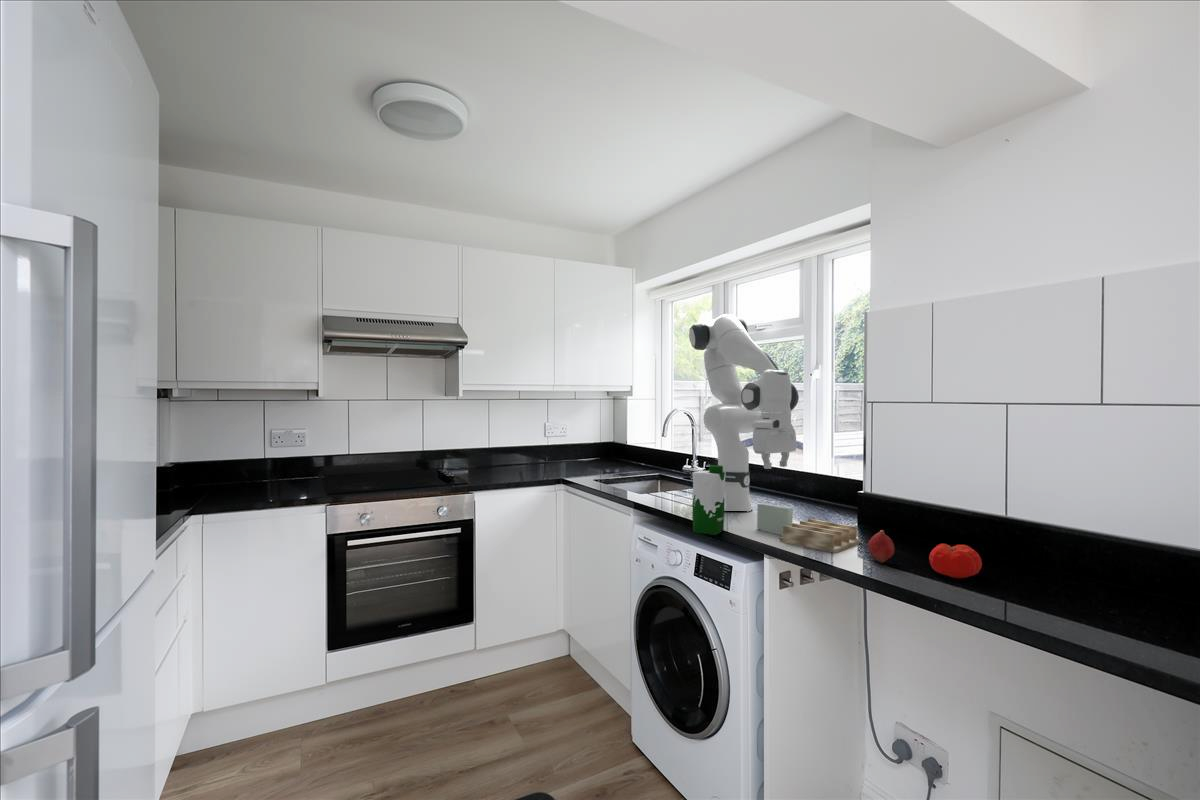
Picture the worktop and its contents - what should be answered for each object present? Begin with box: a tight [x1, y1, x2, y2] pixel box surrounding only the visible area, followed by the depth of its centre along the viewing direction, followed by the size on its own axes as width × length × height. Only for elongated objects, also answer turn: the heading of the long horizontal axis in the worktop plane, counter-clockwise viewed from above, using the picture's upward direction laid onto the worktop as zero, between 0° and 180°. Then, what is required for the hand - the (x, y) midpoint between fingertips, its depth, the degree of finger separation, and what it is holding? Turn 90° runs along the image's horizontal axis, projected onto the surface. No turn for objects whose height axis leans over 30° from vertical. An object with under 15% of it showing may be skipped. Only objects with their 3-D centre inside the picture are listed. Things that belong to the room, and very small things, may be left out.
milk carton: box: [692, 464, 726, 536], centre depth 164 cm, size 9×9×20 cm
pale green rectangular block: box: [756, 502, 794, 535], centre depth 165 cm, size 10×3×8 cm, turn 43°
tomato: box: [928, 543, 983, 579], centre depth 125 cm, size 10×11×7 cm
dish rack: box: [778, 518, 861, 554], centre depth 153 cm, size 16×16×4 cm
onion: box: [867, 529, 895, 564], centre depth 134 cm, size 6×6×8 cm
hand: (775, 467), depth 165 cm, fingers open, 8 cm apart
